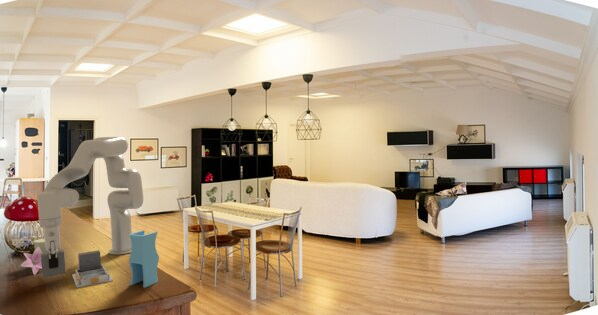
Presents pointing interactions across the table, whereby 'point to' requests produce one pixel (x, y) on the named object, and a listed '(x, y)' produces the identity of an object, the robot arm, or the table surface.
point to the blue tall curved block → (143, 258)
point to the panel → (53, 271)
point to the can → (40, 245)
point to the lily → (33, 260)
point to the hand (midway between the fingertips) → (53, 266)
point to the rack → (90, 270)
